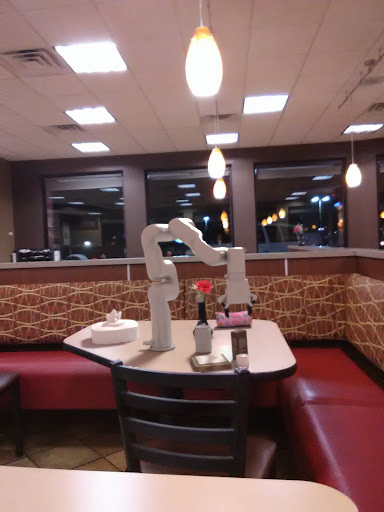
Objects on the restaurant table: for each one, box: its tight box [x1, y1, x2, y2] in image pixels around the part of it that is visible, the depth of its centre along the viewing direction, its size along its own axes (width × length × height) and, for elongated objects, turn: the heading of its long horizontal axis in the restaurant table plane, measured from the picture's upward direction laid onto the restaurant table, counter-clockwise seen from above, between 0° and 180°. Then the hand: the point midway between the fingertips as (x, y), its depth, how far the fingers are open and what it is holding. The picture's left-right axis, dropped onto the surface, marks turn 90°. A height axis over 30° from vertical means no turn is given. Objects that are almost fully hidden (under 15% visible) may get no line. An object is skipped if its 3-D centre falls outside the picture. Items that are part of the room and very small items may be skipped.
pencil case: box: [215, 310, 253, 328], centre depth 234 cm, size 21×9×9 cm, turn 92°
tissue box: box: [90, 308, 140, 345], centre depth 219 cm, size 25×25×16 cm
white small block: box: [235, 354, 250, 369], centre depth 159 cm, size 5×5×4 cm
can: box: [194, 324, 213, 355], centre depth 183 cm, size 8×8×12 cm
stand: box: [190, 353, 232, 373], centre depth 163 cm, size 14×14×2 cm
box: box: [230, 328, 249, 361], centre depth 170 cm, size 6×4×12 cm
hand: (238, 316), depth 170 cm, fingers open, 9 cm apart
